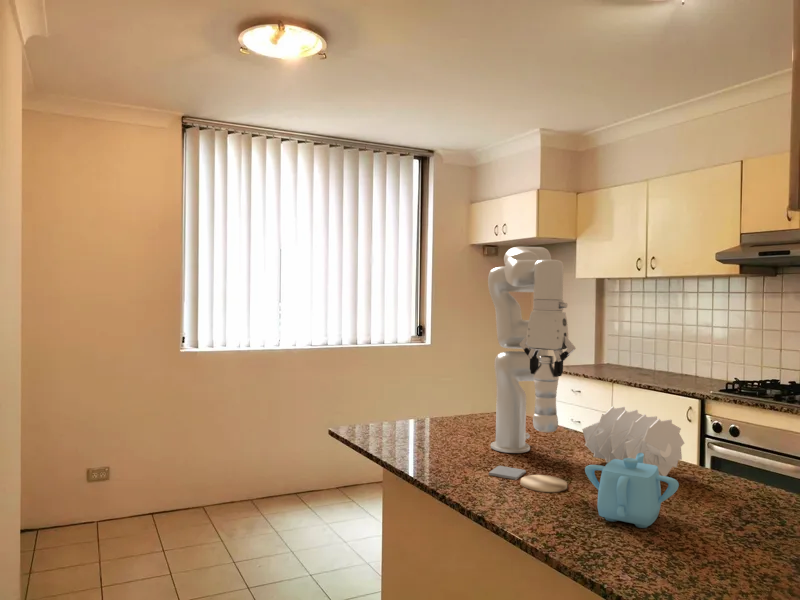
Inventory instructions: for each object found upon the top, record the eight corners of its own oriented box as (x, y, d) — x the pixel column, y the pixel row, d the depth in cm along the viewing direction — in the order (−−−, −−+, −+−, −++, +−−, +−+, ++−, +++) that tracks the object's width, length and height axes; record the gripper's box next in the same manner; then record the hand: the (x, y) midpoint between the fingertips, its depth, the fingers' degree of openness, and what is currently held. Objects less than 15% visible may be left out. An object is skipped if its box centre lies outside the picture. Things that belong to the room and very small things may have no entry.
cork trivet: (533, 475, 168) (533, 472, 168) (574, 484, 161) (574, 481, 161) (512, 485, 159) (512, 482, 159) (555, 495, 151) (555, 492, 151)
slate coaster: (498, 467, 175) (498, 465, 174) (525, 472, 171) (525, 470, 171) (488, 474, 168) (488, 472, 168) (516, 479, 164) (516, 477, 164)
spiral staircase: (614, 471, 187) (678, 493, 164) (572, 450, 182) (632, 469, 159) (634, 416, 191) (699, 430, 168) (592, 394, 185) (654, 405, 162)
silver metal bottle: (544, 435, 155) (545, 358, 155) (527, 430, 161) (528, 355, 161) (563, 433, 158) (565, 357, 158) (545, 427, 164) (547, 354, 164)
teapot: (684, 532, 130) (686, 469, 130) (612, 533, 128) (614, 470, 128) (640, 502, 148) (642, 447, 148) (576, 503, 146) (578, 448, 146)
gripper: (585, 307, 157) (583, 377, 157) (525, 305, 168) (523, 370, 168) (573, 308, 151) (571, 380, 151) (511, 305, 162) (509, 372, 162)
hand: (545, 374), depth 160 cm, fingers closed on silver metal bottle, 6 cm apart
